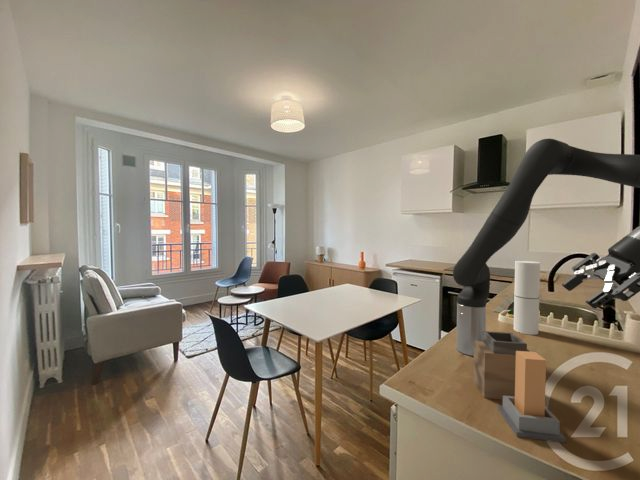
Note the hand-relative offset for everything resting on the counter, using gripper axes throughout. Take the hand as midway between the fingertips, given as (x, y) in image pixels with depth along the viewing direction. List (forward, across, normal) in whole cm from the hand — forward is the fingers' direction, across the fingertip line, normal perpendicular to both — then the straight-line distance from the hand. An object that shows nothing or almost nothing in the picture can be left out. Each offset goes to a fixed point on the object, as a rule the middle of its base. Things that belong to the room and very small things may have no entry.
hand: (576, 296), depth 64 cm
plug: (+27, +12, +8) cm, 31 cm away
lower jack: (+28, +12, +8) cm, 32 cm away
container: (+21, -50, +39) cm, 67 cm away
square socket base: (+30, 0, +10) cm, 32 cm away
